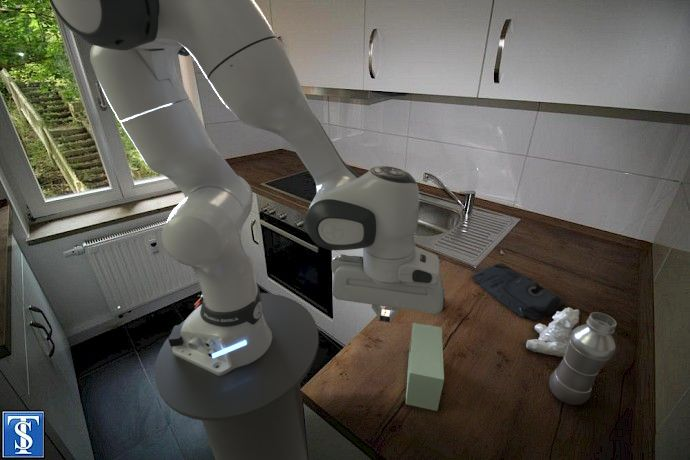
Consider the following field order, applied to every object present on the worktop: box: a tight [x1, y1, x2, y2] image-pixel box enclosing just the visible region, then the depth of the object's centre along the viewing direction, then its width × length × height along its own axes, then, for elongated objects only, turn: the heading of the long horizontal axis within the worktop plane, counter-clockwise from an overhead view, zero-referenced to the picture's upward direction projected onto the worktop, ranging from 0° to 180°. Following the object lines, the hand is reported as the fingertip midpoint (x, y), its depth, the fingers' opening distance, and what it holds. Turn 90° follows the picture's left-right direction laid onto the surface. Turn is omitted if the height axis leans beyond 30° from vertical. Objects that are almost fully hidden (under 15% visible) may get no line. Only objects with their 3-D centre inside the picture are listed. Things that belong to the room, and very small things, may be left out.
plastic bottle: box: [548, 311, 617, 406], centre depth 58 cm, size 6×7×20 cm
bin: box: [405, 322, 445, 412], centre depth 64 cm, size 6×13×9 cm, turn 167°
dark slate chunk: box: [471, 262, 565, 321], centre depth 91 cm, size 15×22×5 cm
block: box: [442, 288, 446, 311], centre depth 86 cm, size 4×4×4 cm
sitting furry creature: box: [525, 306, 580, 358], centre depth 71 cm, size 10×9×12 cm
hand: (385, 319), depth 61 cm, fingers closed
